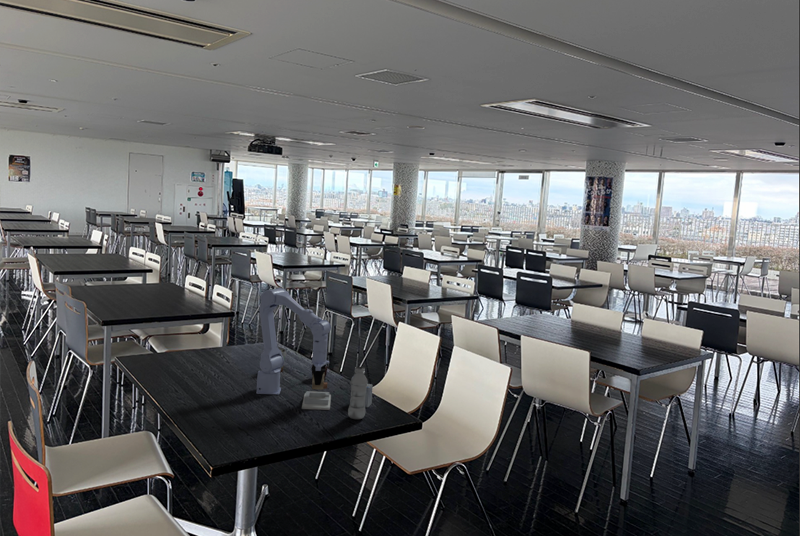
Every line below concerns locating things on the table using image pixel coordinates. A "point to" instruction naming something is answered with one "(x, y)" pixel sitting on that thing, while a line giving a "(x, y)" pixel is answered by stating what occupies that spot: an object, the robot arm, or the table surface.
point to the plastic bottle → (358, 394)
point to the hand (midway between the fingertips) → (317, 382)
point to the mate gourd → (324, 368)
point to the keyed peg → (322, 385)
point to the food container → (283, 357)
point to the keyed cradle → (316, 400)
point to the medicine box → (368, 395)
